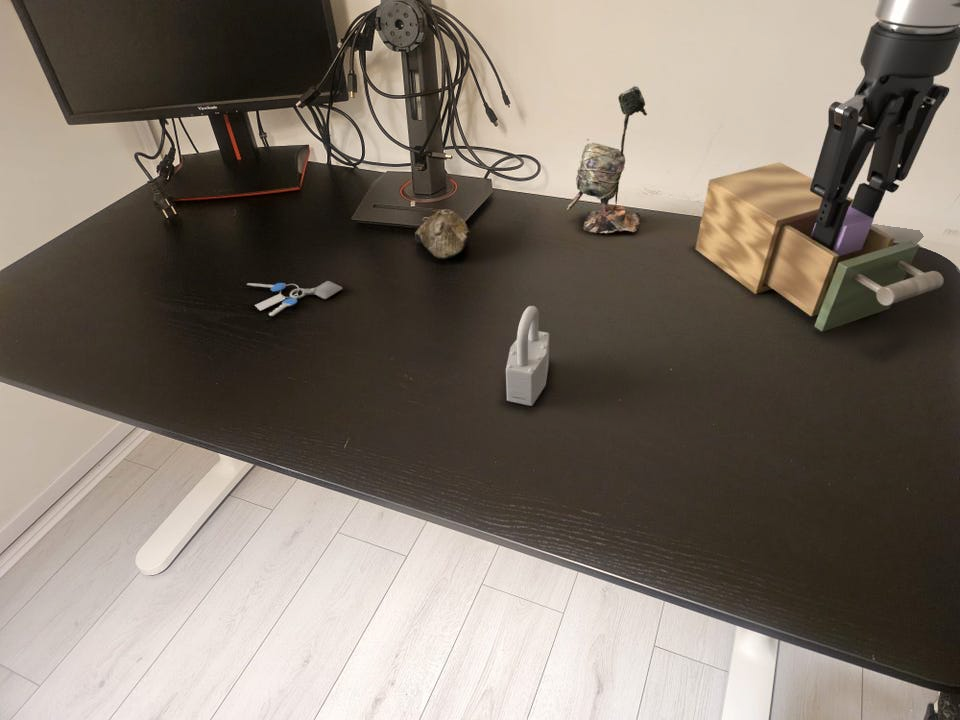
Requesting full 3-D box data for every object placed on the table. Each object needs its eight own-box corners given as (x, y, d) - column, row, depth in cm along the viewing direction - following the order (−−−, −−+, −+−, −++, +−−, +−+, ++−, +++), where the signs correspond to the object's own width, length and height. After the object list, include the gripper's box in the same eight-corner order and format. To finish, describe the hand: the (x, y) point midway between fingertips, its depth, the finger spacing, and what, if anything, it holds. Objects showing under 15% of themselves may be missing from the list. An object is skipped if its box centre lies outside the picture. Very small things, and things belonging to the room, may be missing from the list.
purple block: (834, 234, 74) (846, 204, 72) (861, 249, 72) (874, 218, 69) (808, 242, 73) (819, 211, 71) (834, 257, 71) (846, 226, 68)
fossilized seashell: (482, 243, 88) (465, 222, 96) (454, 209, 84) (439, 190, 93) (443, 277, 89) (429, 253, 97) (413, 244, 85) (402, 223, 94)
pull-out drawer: (926, 331, 70) (961, 266, 65) (856, 357, 68) (886, 291, 62) (817, 262, 82) (838, 202, 76) (754, 282, 80) (771, 221, 74)
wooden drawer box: (826, 272, 82) (853, 199, 75) (755, 294, 79) (777, 220, 72) (760, 230, 91) (779, 161, 84) (695, 249, 88) (709, 179, 81)
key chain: (345, 283, 86) (344, 278, 86) (333, 318, 80) (332, 313, 80) (249, 285, 87) (247, 280, 87) (229, 321, 81) (227, 315, 80)
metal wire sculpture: (579, 206, 100) (586, 76, 87) (647, 218, 96) (666, 84, 82) (560, 228, 95) (564, 95, 82) (632, 243, 90) (648, 104, 77)
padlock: (520, 360, 72) (518, 289, 65) (553, 366, 71) (555, 295, 64) (501, 401, 67) (498, 329, 60) (537, 408, 66) (537, 336, 59)
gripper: (882, 46, 52) (802, 277, 68) (1023, 18, 56) (918, 241, 72) (815, 28, 58) (755, 246, 73) (949, 3, 62) (865, 214, 77)
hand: (836, 243), depth 72 cm, fingers closed on purple block, 4 cm apart
